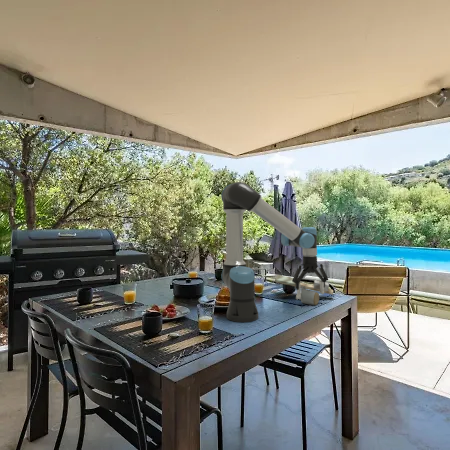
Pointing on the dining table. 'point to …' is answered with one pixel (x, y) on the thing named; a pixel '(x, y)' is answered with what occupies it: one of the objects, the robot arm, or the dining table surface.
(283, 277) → the balance beam
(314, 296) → the ceramic mug
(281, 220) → the robot arm
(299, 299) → the stand
